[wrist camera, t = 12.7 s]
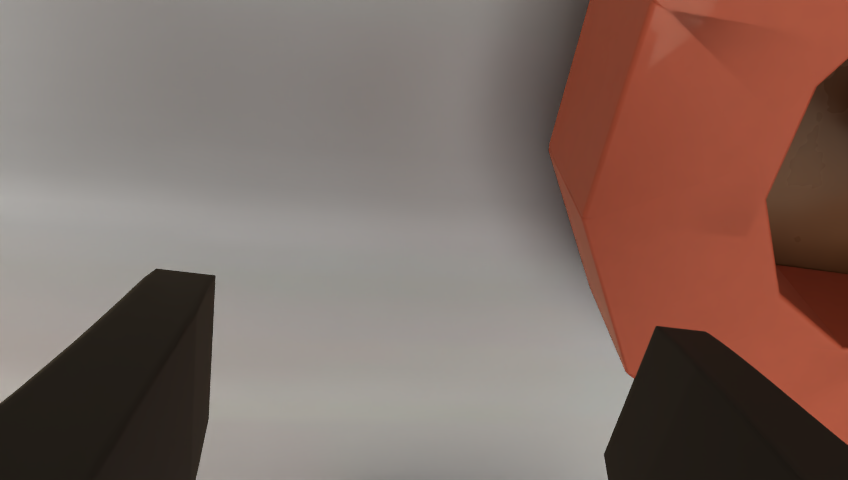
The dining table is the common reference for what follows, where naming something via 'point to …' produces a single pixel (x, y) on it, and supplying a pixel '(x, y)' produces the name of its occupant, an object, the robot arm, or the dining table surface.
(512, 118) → the dining table surface
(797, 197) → the stand
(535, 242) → the dining table surface
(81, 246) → the dining table surface
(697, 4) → the ring
